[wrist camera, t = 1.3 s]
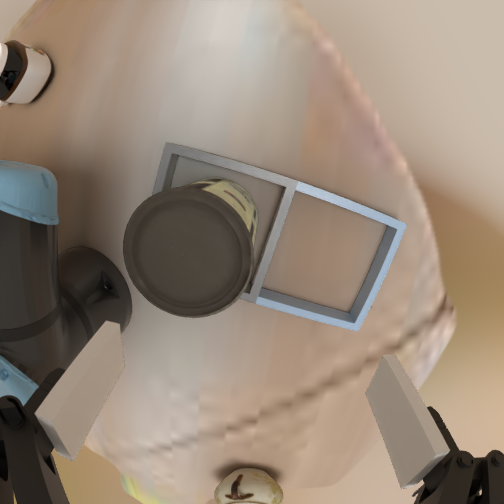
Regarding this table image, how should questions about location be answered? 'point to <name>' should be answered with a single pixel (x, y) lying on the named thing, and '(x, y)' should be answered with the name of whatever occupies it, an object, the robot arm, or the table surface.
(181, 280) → the coffee can
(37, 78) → the spread jar
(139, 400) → the table surface
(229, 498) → the sugar bowl
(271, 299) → the bay tray
